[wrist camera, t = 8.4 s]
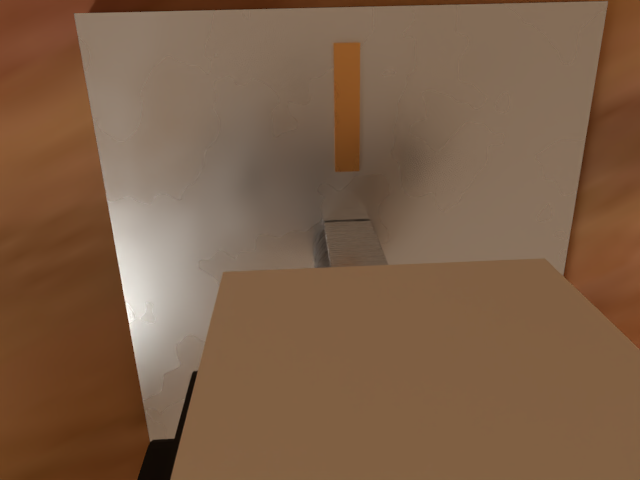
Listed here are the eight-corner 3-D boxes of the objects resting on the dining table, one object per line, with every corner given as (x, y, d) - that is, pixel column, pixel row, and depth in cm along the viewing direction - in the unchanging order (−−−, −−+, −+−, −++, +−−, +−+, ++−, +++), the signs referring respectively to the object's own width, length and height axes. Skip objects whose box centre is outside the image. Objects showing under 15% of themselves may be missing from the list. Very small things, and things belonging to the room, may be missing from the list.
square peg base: (527, 402, 24) (638, 581, 16) (156, 421, 23) (93, 617, 16) (588, 1, 18) (807, -7, 10) (87, 13, 17) (-70, 14, 10)
